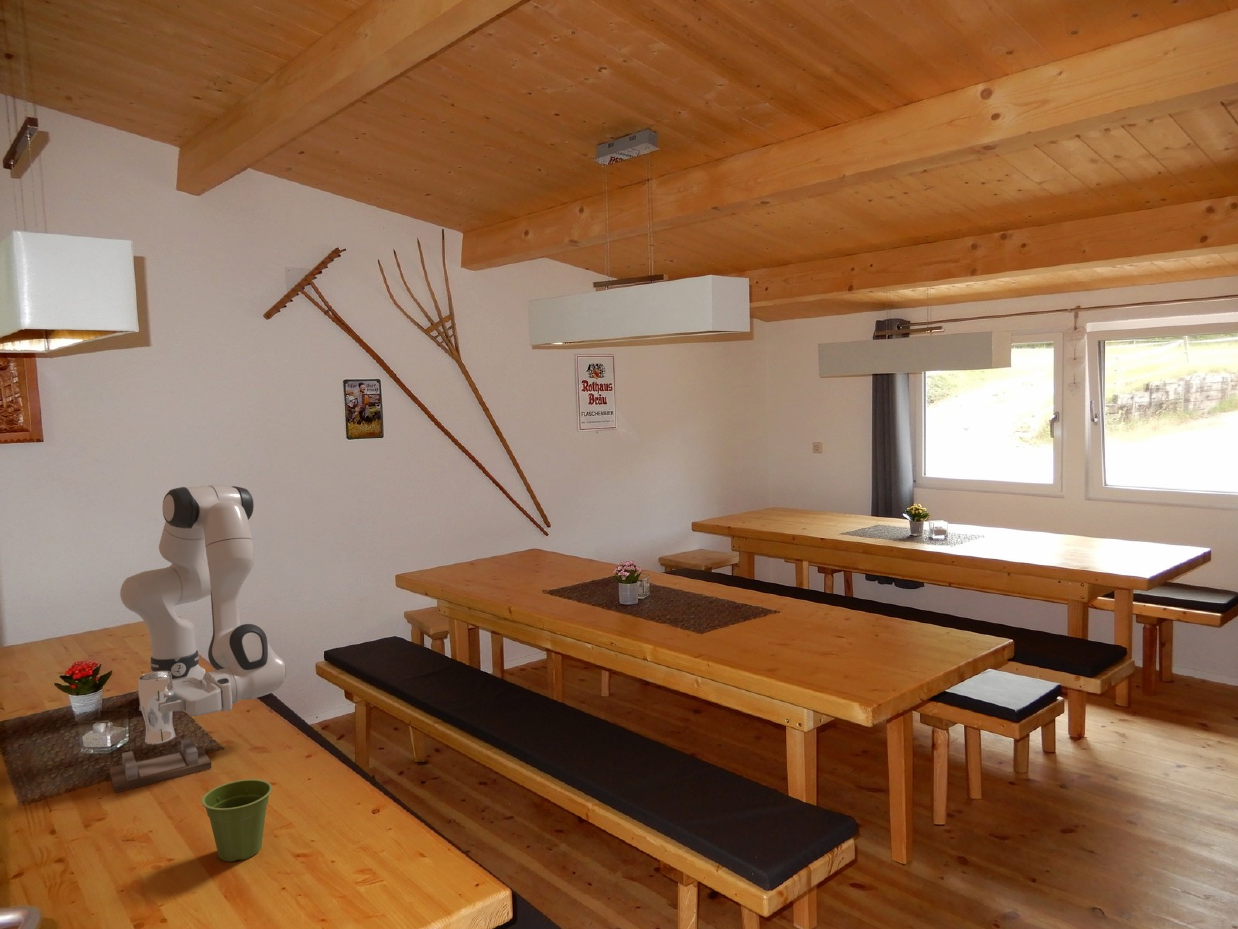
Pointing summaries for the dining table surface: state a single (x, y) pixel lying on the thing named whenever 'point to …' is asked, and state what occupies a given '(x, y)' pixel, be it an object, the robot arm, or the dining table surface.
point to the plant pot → (238, 817)
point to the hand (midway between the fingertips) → (153, 705)
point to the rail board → (158, 767)
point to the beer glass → (156, 706)
